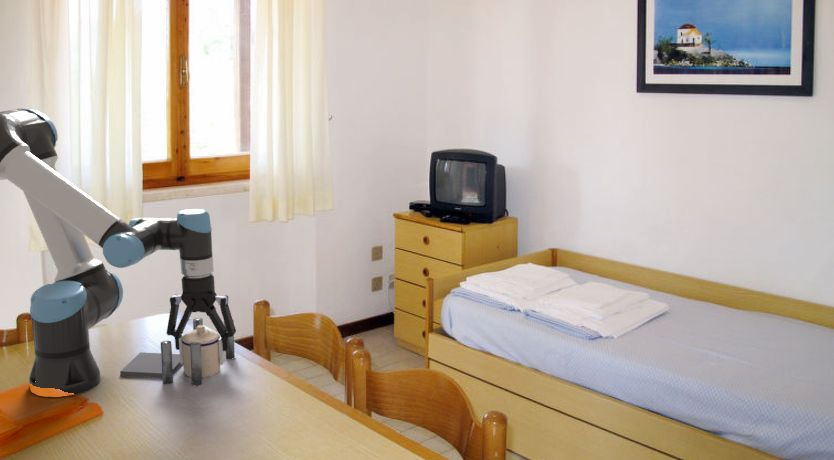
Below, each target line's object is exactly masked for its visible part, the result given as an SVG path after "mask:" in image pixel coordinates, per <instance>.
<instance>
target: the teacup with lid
mask: <svg viewBox="0 0 834 460" xmlns="http://www.w3.org/2000/svg"><path fill="white" fill-rule="evenodd" d="M183 335H184V336H183V337H182V340H181V341H182V343H183V362H184V364H183V373H184V374H185V375H186V376H188V377H190V378H191V356H190V343H193V342H200V343H201V364H202V379H203V378H204V379H205V378H209V377H213V376H215V375H216V374H218V373H219V372H220V371H221V365H220V361H219V344H218V341H219V340H218V339H219V338H220V337H221V336H220V335H219V333H218V331H215V330H210V329H208V328H206V327H205V326H204V324H203V325H199V326H197V327H196V329H195V330H193V329H192V330H191V331H188V332H187V333H185V334H183Z"/></svg>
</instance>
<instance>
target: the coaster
mask: <svg viewBox="0 0 834 460" xmlns="http://www.w3.org/2000/svg"><path fill="white" fill-rule="evenodd" d="M182 365H183V364H180V353H172V366H173V375H174V374H175V373H176V372H177V371H178V369H180V368H181V366H182ZM119 375H120V377H134V378H135V377H136V378H155V379H162V361H161V352H142V351H140V352H139V353H138V354H137V355H136V356H135V357H133V359H131V360H130V361H129V362H128V363H127V364H126V365H125V366H124V367H123V368H122V369H121V370H120V371H119Z"/></svg>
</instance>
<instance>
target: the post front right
mask: <svg viewBox="0 0 834 460" xmlns="http://www.w3.org/2000/svg"><path fill="white" fill-rule="evenodd" d="M190 356H191V377H190V378H191V386H194V387H198V386H201V385H202V384H203V378H202V364H201V343H200V342H193V343H190Z"/></svg>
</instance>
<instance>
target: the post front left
mask: <svg viewBox="0 0 834 460" xmlns="http://www.w3.org/2000/svg"><path fill="white" fill-rule="evenodd" d="M172 346H173V345H172V341H171V340H163V341H160V353H161V361H162V378H161V379H162V384H163V385H171V384H173V383H174V374H173V366H172V354H173V349H172Z"/></svg>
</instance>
